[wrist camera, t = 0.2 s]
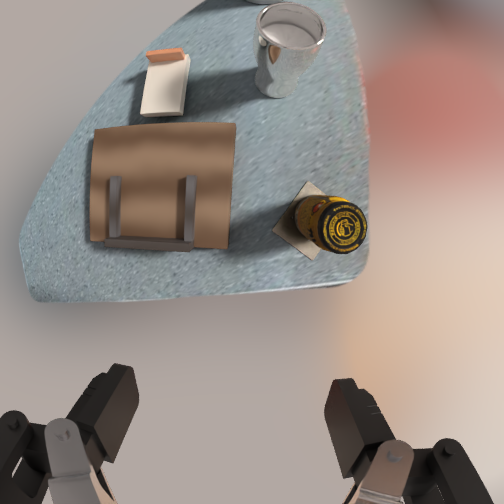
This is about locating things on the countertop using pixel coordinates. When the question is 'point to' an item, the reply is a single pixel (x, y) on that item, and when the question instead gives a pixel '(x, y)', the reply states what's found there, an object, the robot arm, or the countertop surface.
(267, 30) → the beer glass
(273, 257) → the countertop surface
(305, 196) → the condiment
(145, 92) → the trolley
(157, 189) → the dock
